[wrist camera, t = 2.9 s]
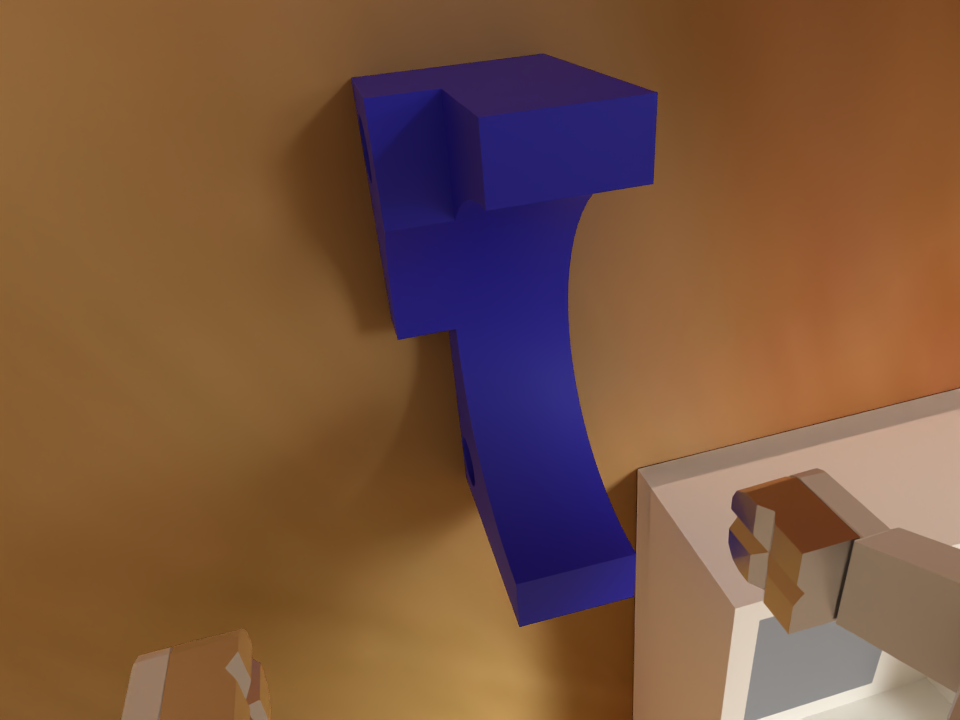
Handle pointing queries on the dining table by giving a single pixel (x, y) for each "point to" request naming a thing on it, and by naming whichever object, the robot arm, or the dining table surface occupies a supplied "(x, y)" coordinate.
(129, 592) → the dining table surface
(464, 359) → the blue curved block
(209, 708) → the robot arm
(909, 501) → the walled box
